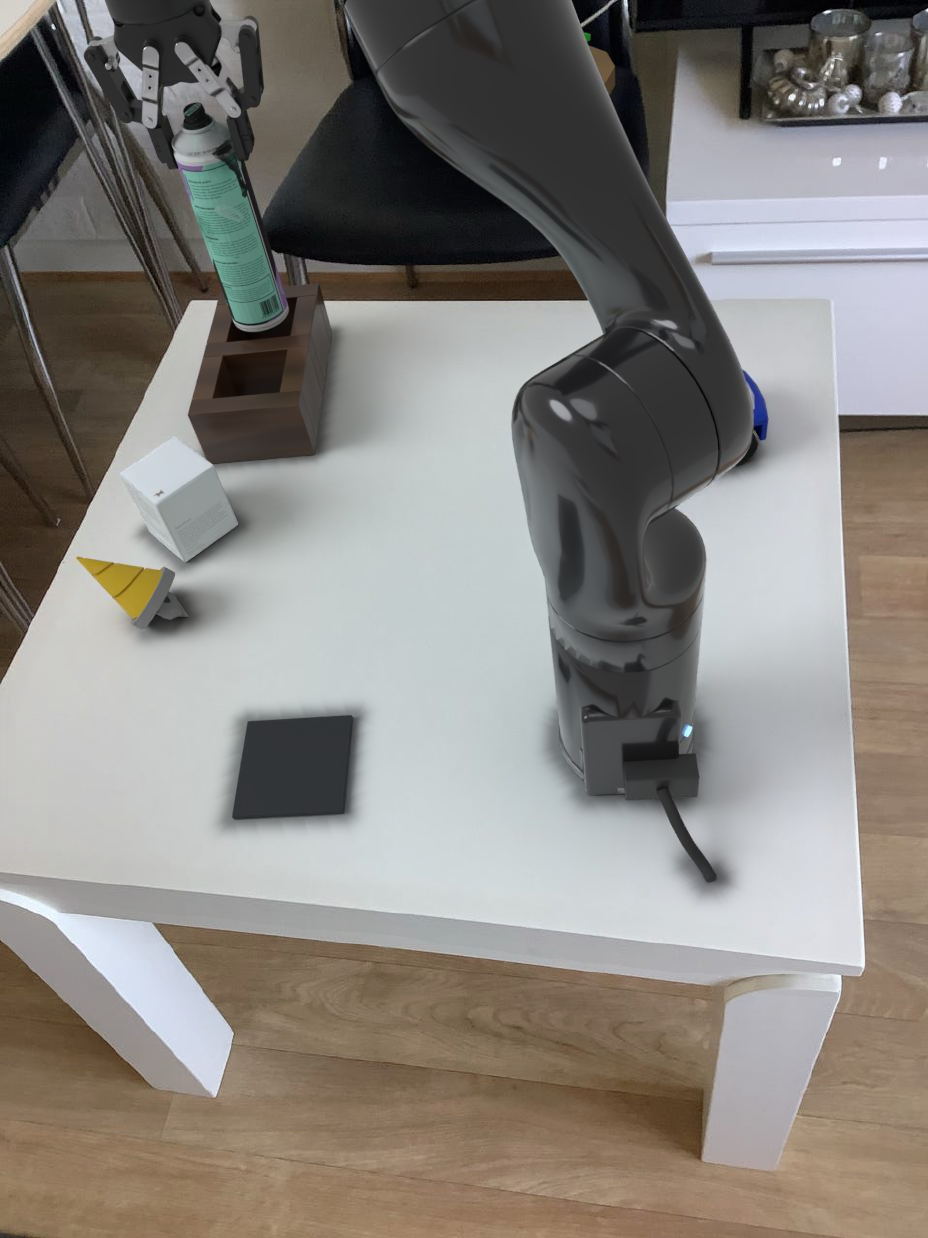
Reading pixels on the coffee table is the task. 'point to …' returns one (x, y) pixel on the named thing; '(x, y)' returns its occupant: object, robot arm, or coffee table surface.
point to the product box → (180, 498)
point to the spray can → (229, 220)
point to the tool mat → (294, 767)
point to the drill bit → (137, 589)
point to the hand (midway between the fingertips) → (210, 159)
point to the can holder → (263, 383)
